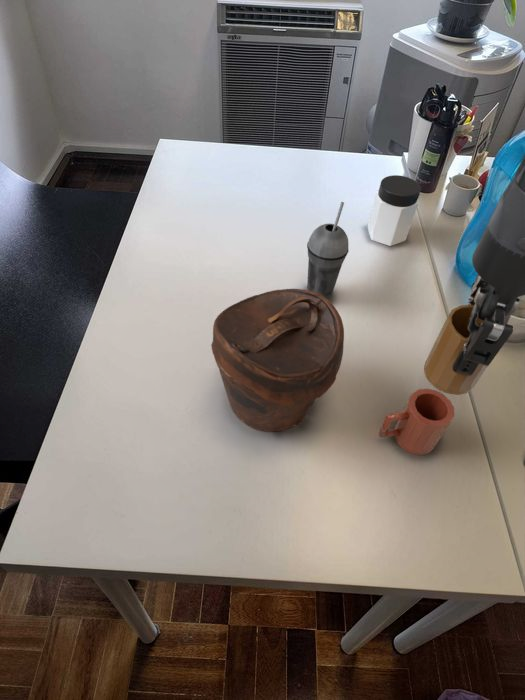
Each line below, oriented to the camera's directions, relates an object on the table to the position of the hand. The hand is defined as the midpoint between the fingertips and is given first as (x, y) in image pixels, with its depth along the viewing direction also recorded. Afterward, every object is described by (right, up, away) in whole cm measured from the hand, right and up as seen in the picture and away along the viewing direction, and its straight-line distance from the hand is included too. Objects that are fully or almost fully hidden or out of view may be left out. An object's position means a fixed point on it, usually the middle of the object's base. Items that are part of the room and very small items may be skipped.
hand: (463, 349), depth 56 cm
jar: (+4, +26, +49) cm, 55 cm away
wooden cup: (0, -3, +4) cm, 5 cm away
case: (-22, -8, +19) cm, 30 cm away
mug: (-3, -13, +15) cm, 20 cm away
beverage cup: (-13, +10, +35) cm, 38 cm away
